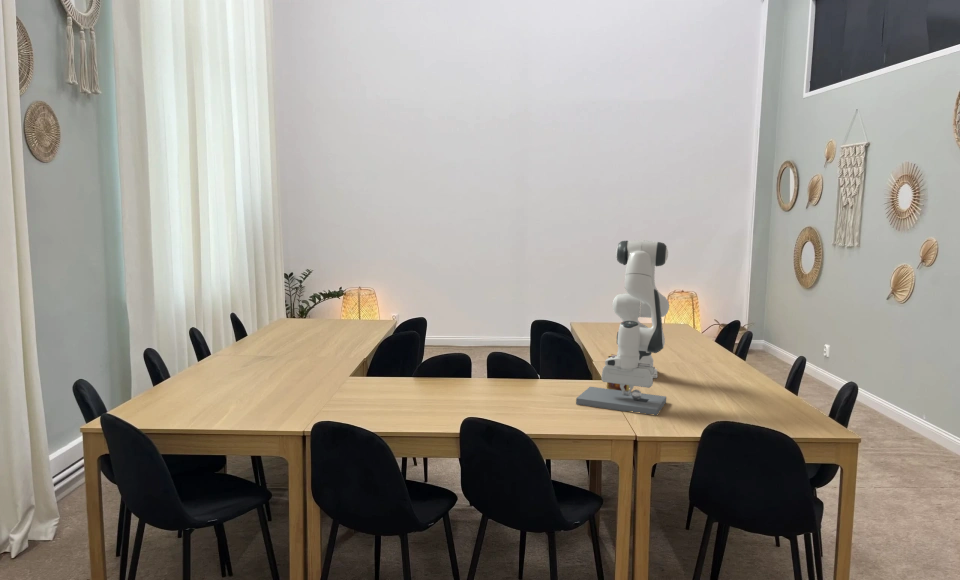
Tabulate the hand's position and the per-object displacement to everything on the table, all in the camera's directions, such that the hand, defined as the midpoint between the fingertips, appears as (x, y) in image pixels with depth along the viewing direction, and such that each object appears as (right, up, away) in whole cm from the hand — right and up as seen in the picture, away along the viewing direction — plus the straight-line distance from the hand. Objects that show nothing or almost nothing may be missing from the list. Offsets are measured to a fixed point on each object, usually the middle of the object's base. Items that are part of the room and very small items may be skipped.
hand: (626, 395), depth 272 cm
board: (-2, -4, +1) cm, 4 cm away
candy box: (+1, -1, +21) cm, 21 cm away
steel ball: (+4, 0, -2) cm, 4 cm away
